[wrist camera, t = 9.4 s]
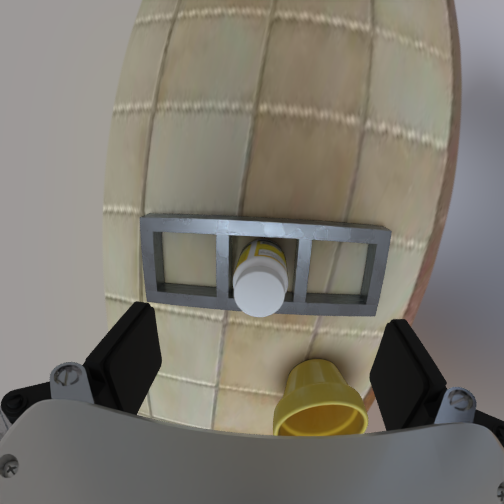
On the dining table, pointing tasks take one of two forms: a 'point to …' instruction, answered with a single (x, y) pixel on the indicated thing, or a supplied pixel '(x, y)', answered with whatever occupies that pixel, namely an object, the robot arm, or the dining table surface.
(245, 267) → the supplement bottle
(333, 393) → the plant pot
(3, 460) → the robot arm
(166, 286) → the grey long slotted tray
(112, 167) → the dining table surface
